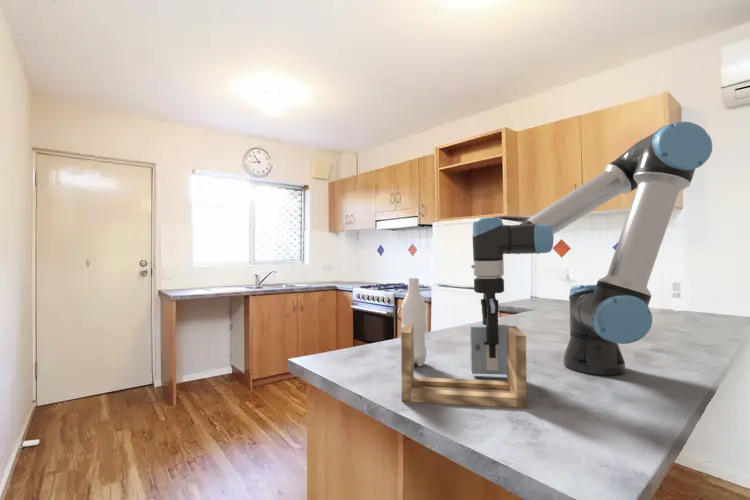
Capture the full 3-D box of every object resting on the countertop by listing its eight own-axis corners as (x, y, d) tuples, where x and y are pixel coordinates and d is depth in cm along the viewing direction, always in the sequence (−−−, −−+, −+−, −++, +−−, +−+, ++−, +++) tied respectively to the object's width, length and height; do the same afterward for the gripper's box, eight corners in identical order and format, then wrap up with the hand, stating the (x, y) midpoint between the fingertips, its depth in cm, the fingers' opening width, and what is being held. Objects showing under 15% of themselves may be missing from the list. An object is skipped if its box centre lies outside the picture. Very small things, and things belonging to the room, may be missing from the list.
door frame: (516, 390, 93) (515, 326, 93) (526, 408, 82) (526, 335, 82) (405, 384, 97) (405, 323, 97) (401, 401, 86) (401, 332, 86)
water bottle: (425, 368, 110) (425, 279, 110) (400, 367, 112) (399, 279, 112) (427, 362, 117) (426, 277, 117) (403, 360, 119) (402, 277, 119)
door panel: (510, 370, 103) (508, 324, 103) (513, 375, 99) (512, 327, 99) (471, 369, 105) (469, 324, 105) (472, 375, 100) (471, 327, 100)
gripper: (471, 275, 111) (473, 358, 111) (477, 279, 95) (479, 377, 95) (498, 275, 110) (501, 359, 110) (509, 279, 94) (512, 377, 93)
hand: (491, 367), depth 102 cm, fingers closed on door panel, 3 cm apart
